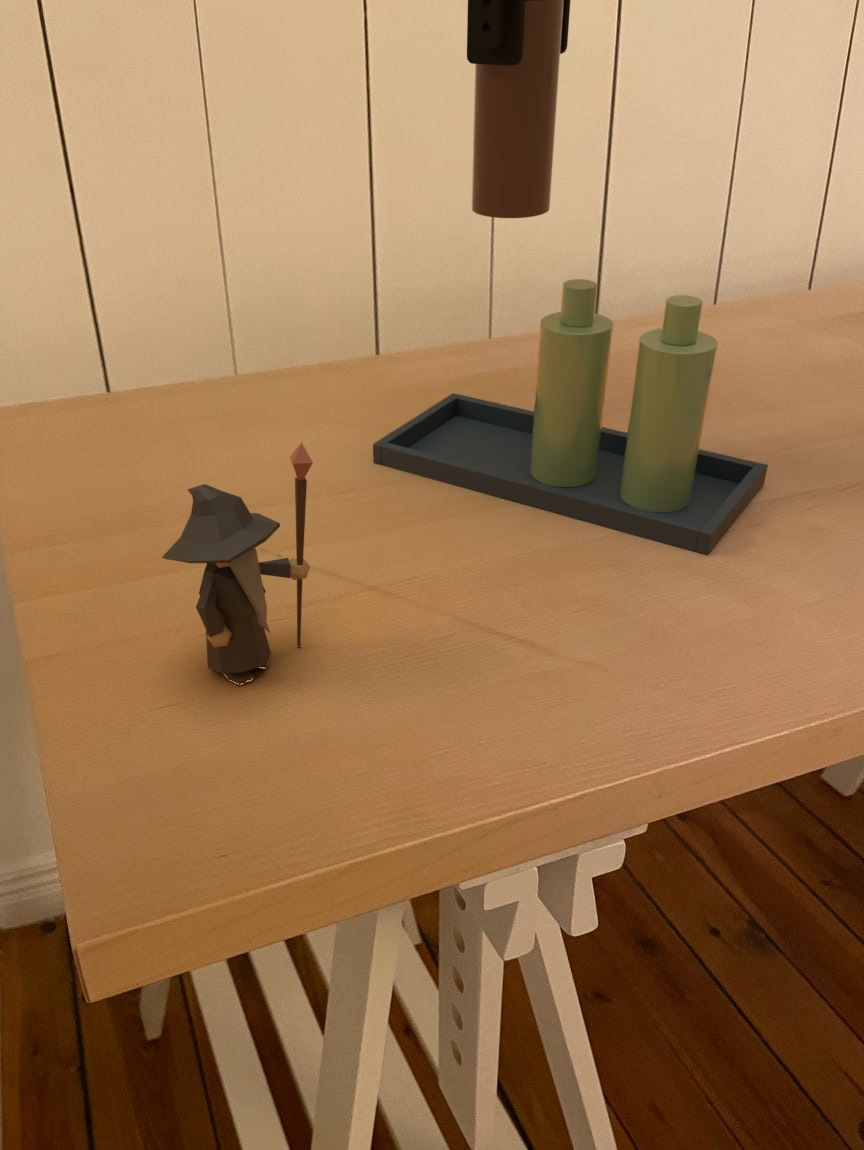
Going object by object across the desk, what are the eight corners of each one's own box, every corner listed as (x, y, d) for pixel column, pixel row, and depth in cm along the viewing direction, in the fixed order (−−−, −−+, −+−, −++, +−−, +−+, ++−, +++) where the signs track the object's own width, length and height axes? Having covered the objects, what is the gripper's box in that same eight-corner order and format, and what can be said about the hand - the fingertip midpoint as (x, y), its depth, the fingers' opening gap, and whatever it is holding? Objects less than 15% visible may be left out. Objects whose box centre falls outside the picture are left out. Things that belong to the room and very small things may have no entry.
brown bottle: (562, 205, 63) (582, -59, 55) (527, 222, 60) (543, -56, 52) (494, 197, 65) (504, -58, 57) (457, 213, 62) (461, -55, 54)
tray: (762, 491, 72) (768, 464, 70) (706, 563, 64) (711, 534, 63) (452, 416, 84) (452, 392, 82) (373, 469, 76) (372, 443, 75)
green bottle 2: (700, 491, 71) (735, 296, 63) (675, 519, 67) (709, 317, 60) (635, 475, 73) (661, 284, 65) (608, 501, 70) (632, 304, 62)
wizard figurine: (248, 714, 53) (222, 509, 46) (166, 681, 55) (130, 482, 48) (335, 634, 58) (324, 441, 51) (258, 608, 61) (237, 420, 54)
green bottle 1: (607, 468, 74) (629, 279, 66) (579, 493, 71) (599, 298, 63) (548, 453, 76) (562, 269, 68) (518, 477, 73) (530, 287, 65)
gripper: (527, -448, 40) (506, 80, 50) (681, -371, 51) (637, 46, 62) (369, -414, 43) (380, 73, 54) (546, -349, 54) (526, 42, 65)
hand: (518, 54), depth 57 cm, fingers closed on brown bottle, 4 cm apart
